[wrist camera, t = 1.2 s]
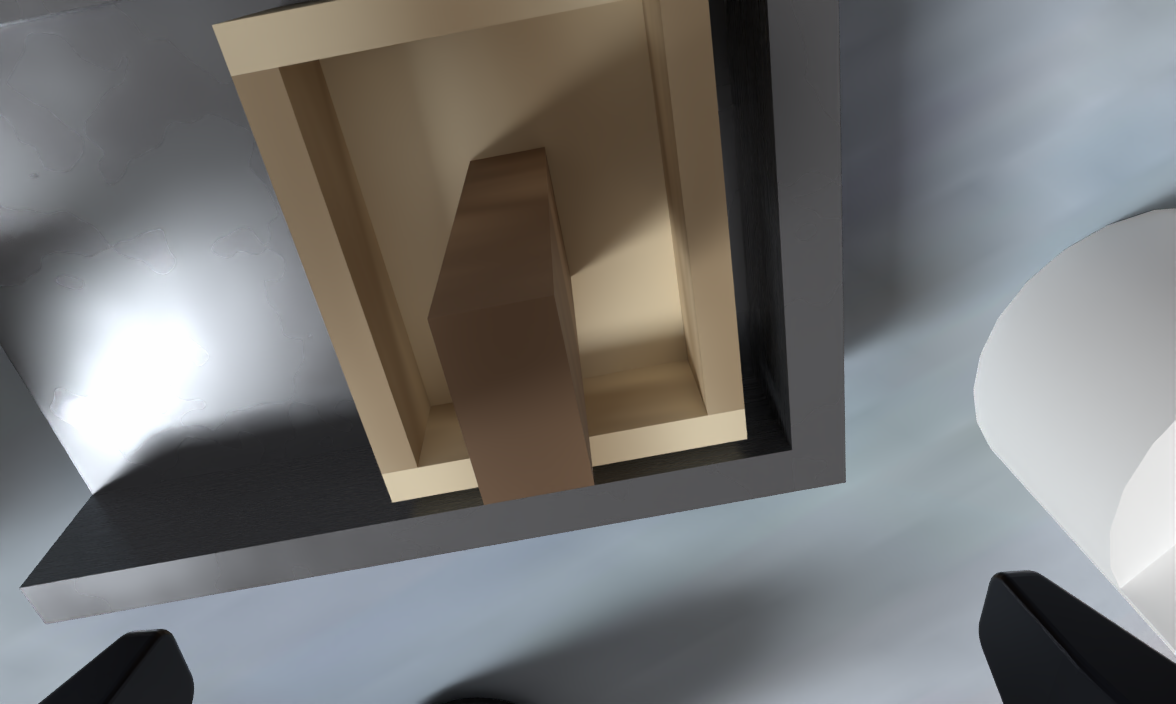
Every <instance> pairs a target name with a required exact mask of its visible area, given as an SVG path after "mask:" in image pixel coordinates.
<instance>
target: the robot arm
mask: <svg viewBox="0 0 1176 704" xmlns="http://www.w3.org/2000/svg"><path fill="white" fill-rule="evenodd" d="M979 638H980V643H981V646H982V649H983V652H984V654H985V657H986V660H987V662H988V665H989V668H990V670H991V673H992V675H993V678H994V681H995V683H996V686H997V689H998V691H999V694H1000V696H1001V699H1002V702H1003V704H1176V663H1174V662H1173V661H1171V660H1170V659H1168V658H1167V657H1165V656H1164V655H1162V654H1161V653H1159V652H1158V651H1156V650H1155V649H1153V648H1152V647H1150V646H1149V645H1147V644H1146V643H1144V642H1143V641H1141V640H1140V639H1138V638H1137V637H1135V636H1134V635H1132V634H1131V633H1129V632H1128V631H1126V630H1125V629H1123V628H1121V627H1120V626H1118V625H1117V624H1115V623H1114V622H1112V621H1111V620H1109V619H1108V618H1106V617H1105V616H1103V615H1102V614H1100V613H1099V612H1097V611H1096V610H1094V609H1093V608H1091V607H1090V606H1088V605H1087V604H1085V603H1084V602H1082V601H1081V600H1079V599H1078V598H1076V597H1075V596H1073V595H1072V594H1070V593H1069V592H1067V591H1066V590H1064V589H1063V588H1061V587H1060V586H1058V585H1056V584H1055V583H1053V582H1052V581H1050V580H1049V579H1047V578H1046V577H1044V576H1043V575H1041V574H1039V573H1037V572H1035V571H1030V570H1024V571H1009V572H999V573H996V574H995V575H994V576H993V577H992V578H991V581H990V583H989V587H988V591H987V595H986V599H985V602H984V606H983V610H982V614H981V618H980V622H979ZM193 695H194V682H193V677H192V675H191V672H190V670H189V668H188V666H187V664H186V662H185V660H184V657H183V655H182V653H181V651H180V649H179V647H178V645H177V642H176V640H175V638H174V636H173V635H172V634H171V633H170V632H169V631H167V630H164V629H154V630H139V631H132V632H129V633H126V634H125V635H123V636H122V637H120V638H119V639H117V640H116V641H115V642H114V643H113V644H111V645H110V646H109V647H108V648H106V649H105V650H104V651H103V652H101V653H100V654H99V655H98V656H97V657H95V658H94V659H93V660H92V661H90V662H89V663H88V664H87V665H85V666H84V667H83V668H82V669H81V670H79V671H78V672H77V673H76V674H74V675H73V676H72V677H71V678H69V679H68V680H67V681H66V682H65V683H63V684H62V685H61V686H60V687H58V688H57V689H56V690H55V691H54V692H52V693H51V694H50V695H49V696H47V697H46V698H45V699H44V700H42V701H41V702H40V703H39V704H192V701H193Z"/></svg>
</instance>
